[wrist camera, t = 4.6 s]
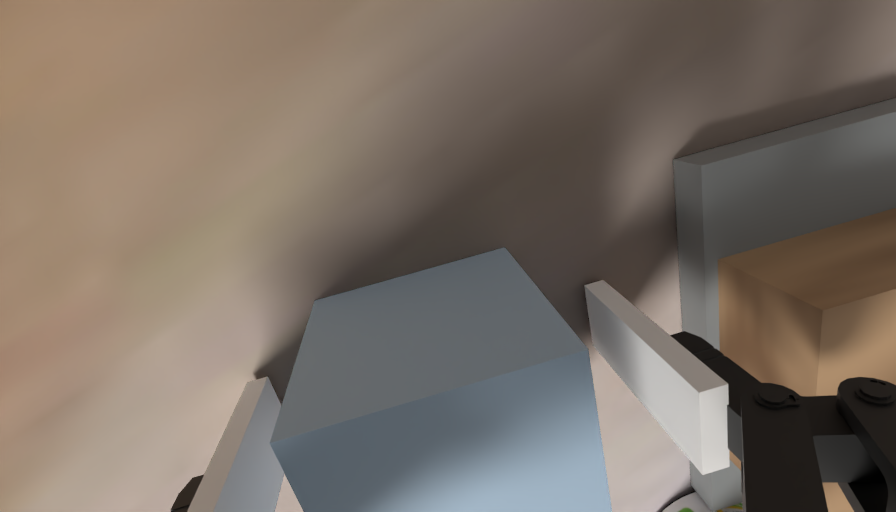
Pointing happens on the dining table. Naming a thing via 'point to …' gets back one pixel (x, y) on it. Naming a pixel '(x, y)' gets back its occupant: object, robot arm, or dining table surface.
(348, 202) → the dining table surface
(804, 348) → the base brick
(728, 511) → the supplement bottle
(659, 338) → the robot arm
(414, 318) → the blue cube
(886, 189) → the board
